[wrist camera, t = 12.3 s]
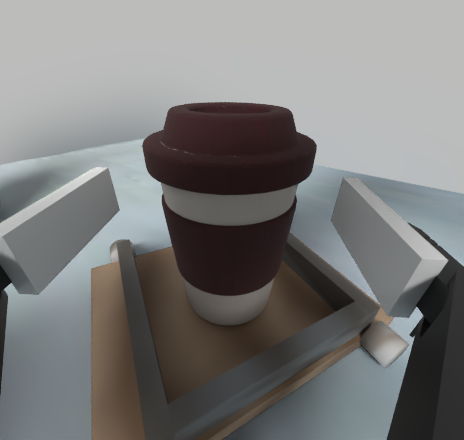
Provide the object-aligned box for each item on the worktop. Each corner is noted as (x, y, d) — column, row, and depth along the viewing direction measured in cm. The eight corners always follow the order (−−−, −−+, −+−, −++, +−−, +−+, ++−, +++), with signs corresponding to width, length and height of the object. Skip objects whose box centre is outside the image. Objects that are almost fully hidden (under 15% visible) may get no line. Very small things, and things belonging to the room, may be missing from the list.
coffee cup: (239, 244, 27) (245, 98, 19) (308, 303, 20) (364, 111, 12) (155, 280, 22) (115, 103, 14) (208, 376, 15) (189, 131, 7)
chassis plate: (263, 221, 34) (265, 196, 32) (411, 348, 18) (436, 317, 16) (95, 266, 25) (83, 237, 23) (103, 591, 9) (68, 592, 7)
